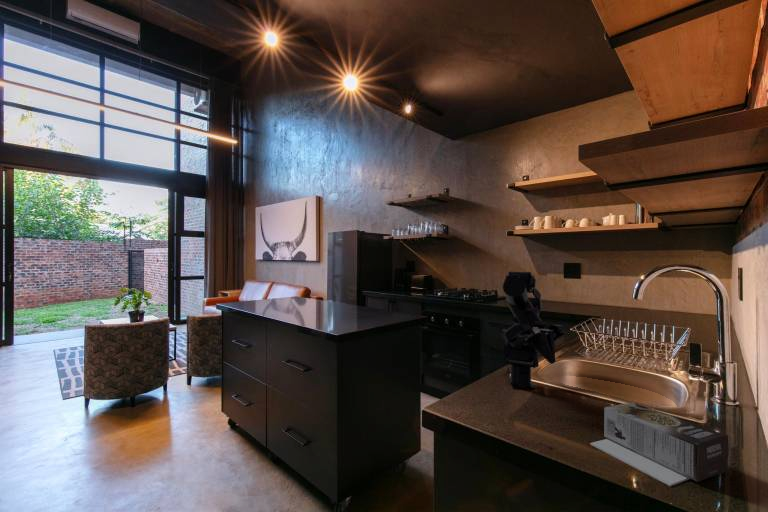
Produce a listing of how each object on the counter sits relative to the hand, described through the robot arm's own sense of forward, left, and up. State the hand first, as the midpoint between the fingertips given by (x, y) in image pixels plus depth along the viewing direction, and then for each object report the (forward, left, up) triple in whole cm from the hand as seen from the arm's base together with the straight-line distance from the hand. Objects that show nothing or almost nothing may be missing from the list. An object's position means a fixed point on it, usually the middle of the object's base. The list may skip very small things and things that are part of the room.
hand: (553, 362), depth 88 cm
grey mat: (+22, +9, -11) cm, 26 cm away
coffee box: (+14, +7, -7) cm, 18 cm away
